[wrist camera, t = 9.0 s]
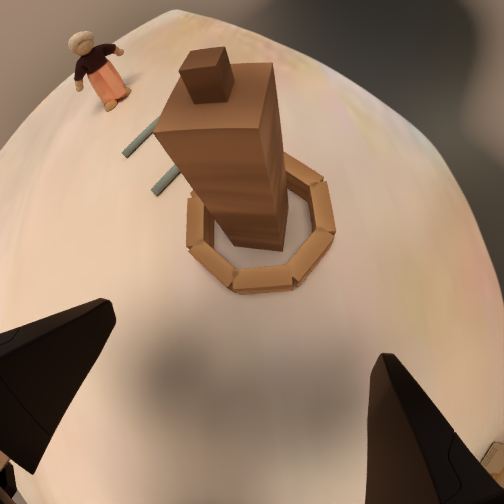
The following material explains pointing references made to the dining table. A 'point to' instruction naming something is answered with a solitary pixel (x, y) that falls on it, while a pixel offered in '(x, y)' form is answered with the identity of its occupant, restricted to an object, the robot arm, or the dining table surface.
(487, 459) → the skincare box
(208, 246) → the bead ring
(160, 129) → the brown wooden peg
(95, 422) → the dining table surface
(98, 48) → the grandmother figurine
